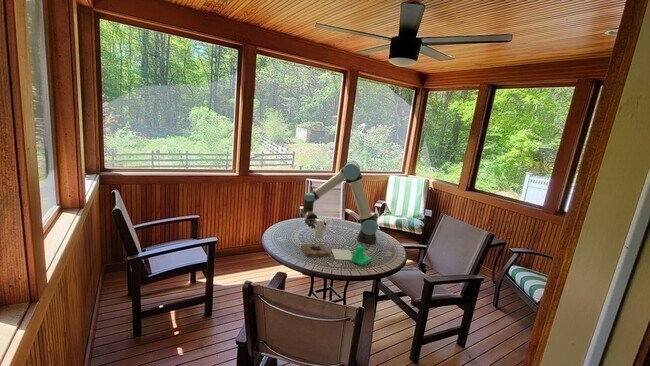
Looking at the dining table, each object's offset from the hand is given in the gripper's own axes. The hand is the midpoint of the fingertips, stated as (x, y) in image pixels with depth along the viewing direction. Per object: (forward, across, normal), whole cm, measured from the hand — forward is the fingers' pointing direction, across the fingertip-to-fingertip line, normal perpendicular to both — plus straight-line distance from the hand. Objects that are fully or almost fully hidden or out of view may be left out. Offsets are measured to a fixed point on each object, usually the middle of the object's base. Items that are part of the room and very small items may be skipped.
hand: (321, 229), depth 197 cm
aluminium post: (-5, 0, -8) cm, 9 cm away
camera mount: (+13, -26, -18) cm, 34 cm away
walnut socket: (-5, 0, -18) cm, 19 cm away
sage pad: (+2, -17, -18) cm, 25 cm away
